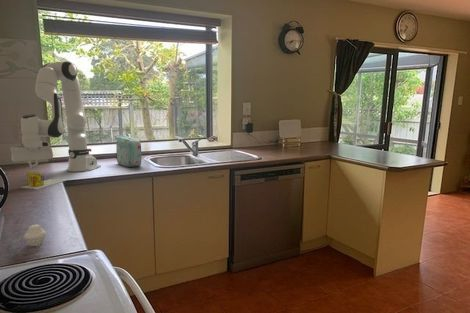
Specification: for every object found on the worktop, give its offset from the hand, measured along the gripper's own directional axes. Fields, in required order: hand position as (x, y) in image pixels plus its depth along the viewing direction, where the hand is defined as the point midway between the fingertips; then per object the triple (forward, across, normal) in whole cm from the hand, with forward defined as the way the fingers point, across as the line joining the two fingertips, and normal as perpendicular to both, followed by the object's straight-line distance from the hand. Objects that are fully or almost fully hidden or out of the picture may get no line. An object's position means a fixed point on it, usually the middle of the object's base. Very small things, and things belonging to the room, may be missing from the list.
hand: (33, 167), depth 189 cm
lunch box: (+9, +64, +13) cm, 66 cm away
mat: (+9, +3, -7) cm, 11 cm away
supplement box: (+5, -1, 0) cm, 6 cm away
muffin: (+9, -24, -93) cm, 96 cm away
